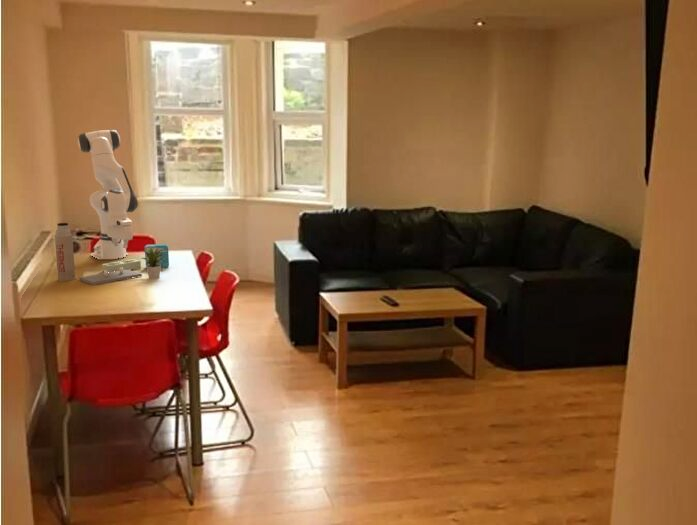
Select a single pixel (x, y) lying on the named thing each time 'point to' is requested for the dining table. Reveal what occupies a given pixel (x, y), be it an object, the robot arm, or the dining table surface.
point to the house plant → (153, 263)
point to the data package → (166, 256)
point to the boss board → (109, 276)
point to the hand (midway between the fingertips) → (120, 247)
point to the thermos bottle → (64, 253)
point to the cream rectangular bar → (121, 265)
